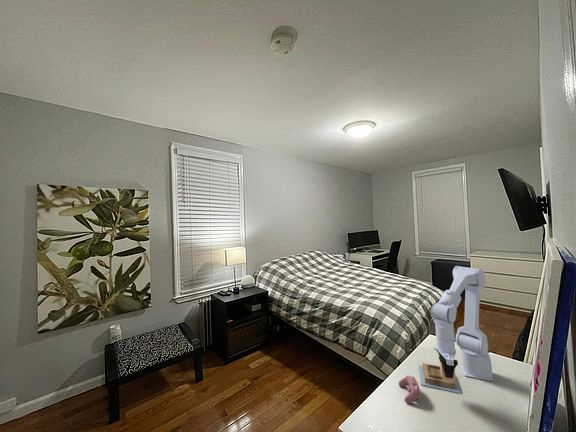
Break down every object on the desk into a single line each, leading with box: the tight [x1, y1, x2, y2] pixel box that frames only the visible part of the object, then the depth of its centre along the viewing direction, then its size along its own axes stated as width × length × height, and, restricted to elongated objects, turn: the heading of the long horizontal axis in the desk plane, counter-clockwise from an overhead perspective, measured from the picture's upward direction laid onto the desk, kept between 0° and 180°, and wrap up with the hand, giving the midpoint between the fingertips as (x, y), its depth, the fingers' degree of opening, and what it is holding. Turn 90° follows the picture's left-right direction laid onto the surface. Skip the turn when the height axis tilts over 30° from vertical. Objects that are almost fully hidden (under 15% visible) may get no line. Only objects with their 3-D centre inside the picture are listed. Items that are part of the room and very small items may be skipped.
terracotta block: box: [439, 361, 456, 382], centre depth 88 cm, size 4×4×6 cm
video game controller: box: [398, 374, 422, 404], centre depth 89 cm, size 10×5×7 cm, turn 169°
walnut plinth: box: [421, 362, 455, 389], centre depth 97 cm, size 10×10×3 cm
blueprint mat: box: [418, 364, 462, 395], centre depth 97 cm, size 13×13×1 cm
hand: (447, 373), depth 88 cm, fingers closed on terracotta block, 4 cm apart
